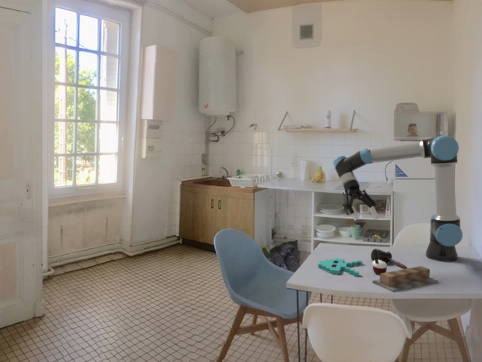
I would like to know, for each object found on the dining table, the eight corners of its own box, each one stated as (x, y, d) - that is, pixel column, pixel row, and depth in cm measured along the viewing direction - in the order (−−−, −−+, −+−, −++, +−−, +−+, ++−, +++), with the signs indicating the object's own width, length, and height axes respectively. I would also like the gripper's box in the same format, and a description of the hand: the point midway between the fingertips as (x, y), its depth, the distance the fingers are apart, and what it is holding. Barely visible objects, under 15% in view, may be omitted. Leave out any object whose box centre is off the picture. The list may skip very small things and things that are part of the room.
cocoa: (382, 271, 194) (383, 246, 193) (391, 274, 188) (392, 249, 187) (366, 273, 191) (366, 248, 190) (374, 276, 185) (375, 250, 184)
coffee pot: (369, 259, 210) (382, 260, 213) (392, 274, 194) (405, 275, 197) (372, 246, 209) (385, 247, 212) (395, 260, 192) (409, 260, 195)
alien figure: (362, 264, 205) (322, 260, 212) (362, 260, 204) (322, 256, 212) (358, 277, 186) (315, 272, 193) (358, 272, 186) (315, 268, 193)
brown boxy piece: (416, 274, 188) (416, 263, 188) (437, 282, 177) (438, 271, 177) (372, 282, 178) (372, 271, 177) (392, 291, 167) (392, 280, 166)
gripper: (363, 187, 216) (379, 222, 205) (327, 186, 204) (343, 223, 193) (372, 179, 210) (389, 214, 200) (335, 178, 198) (352, 215, 188)
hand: (366, 219), depth 196 cm, fingers open, 13 cm apart
